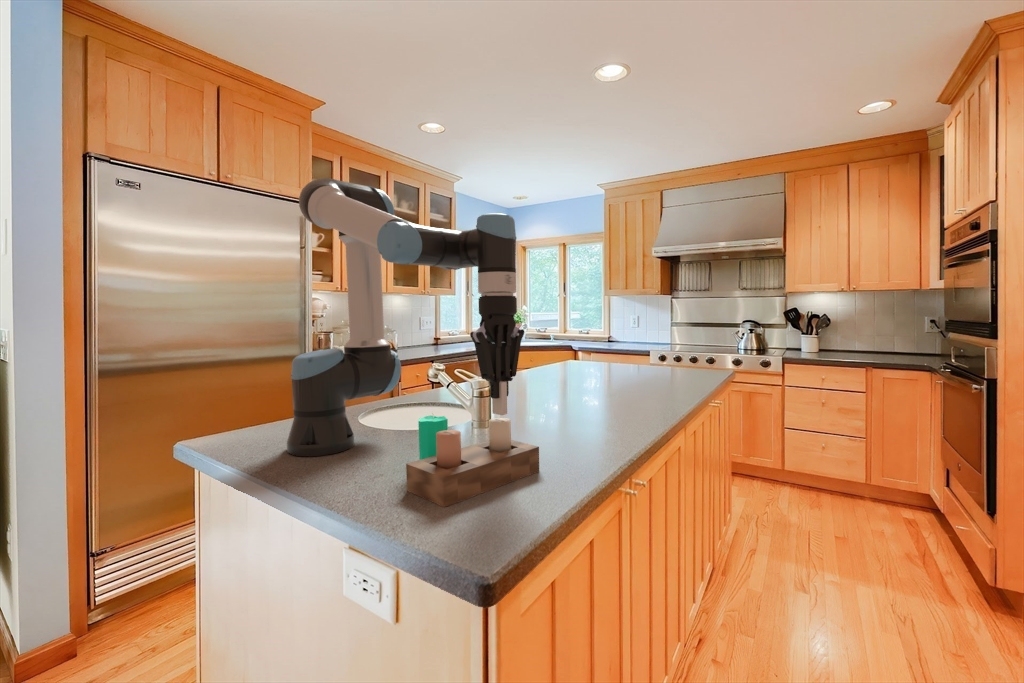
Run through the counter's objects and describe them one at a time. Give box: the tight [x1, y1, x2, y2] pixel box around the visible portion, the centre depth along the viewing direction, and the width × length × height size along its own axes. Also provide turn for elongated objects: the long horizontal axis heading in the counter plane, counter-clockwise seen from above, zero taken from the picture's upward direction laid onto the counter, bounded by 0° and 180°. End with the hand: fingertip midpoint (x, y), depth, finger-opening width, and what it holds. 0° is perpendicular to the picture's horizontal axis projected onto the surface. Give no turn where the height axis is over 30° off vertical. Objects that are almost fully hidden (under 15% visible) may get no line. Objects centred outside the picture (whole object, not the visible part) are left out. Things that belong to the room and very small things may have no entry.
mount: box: [405, 439, 540, 508], centre depth 93 cm, size 11×24×5 cm, turn 136°
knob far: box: [488, 417, 512, 453], centre depth 97 cm, size 4×4×6 cm
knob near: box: [436, 429, 462, 470], centre depth 88 cm, size 4×4×6 cm
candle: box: [417, 415, 449, 460], centre depth 100 cm, size 6×6×12 cm
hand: (499, 413), depth 97 cm, fingers closed
